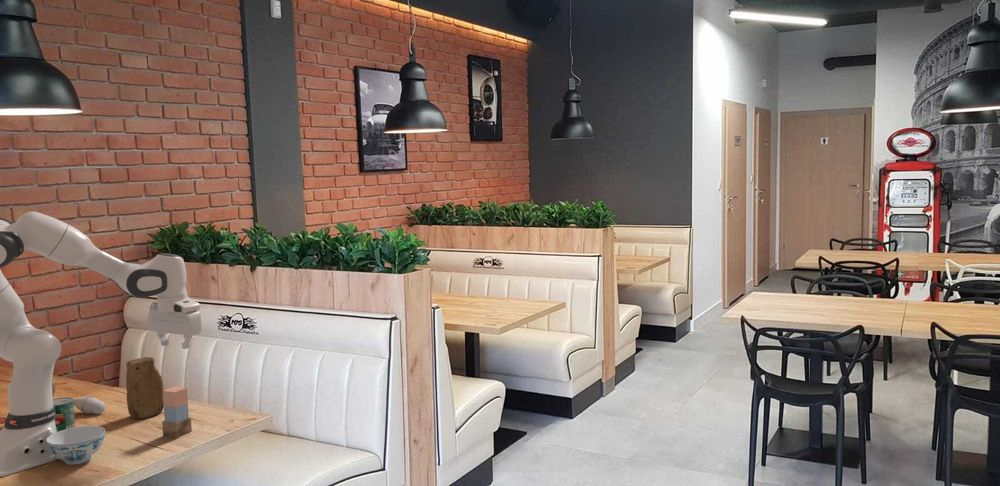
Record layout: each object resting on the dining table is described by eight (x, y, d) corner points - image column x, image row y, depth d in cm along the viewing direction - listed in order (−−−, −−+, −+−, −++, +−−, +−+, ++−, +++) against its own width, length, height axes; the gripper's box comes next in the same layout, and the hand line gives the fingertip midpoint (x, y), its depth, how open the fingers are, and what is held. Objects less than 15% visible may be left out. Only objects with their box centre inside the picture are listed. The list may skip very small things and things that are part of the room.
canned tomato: (43, 439, 234) (41, 406, 233) (51, 431, 242) (49, 398, 241) (71, 437, 236) (69, 403, 235) (78, 428, 244) (76, 396, 243)
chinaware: (116, 449, 225) (114, 425, 224) (90, 470, 210) (88, 443, 210) (66, 450, 225) (64, 426, 224) (37, 471, 210) (34, 445, 209)
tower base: (176, 439, 234) (176, 424, 233) (163, 436, 236) (162, 421, 236) (191, 432, 239) (190, 417, 239) (178, 430, 242) (177, 415, 241)
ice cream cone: (67, 410, 262) (103, 420, 259) (57, 404, 257) (93, 414, 254) (76, 394, 265) (112, 403, 262) (67, 388, 260) (103, 397, 257)
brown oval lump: (134, 421, 250) (130, 363, 248) (126, 416, 255) (122, 359, 253) (167, 413, 258) (163, 357, 255) (158, 408, 263) (155, 353, 261)
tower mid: (176, 423, 234) (175, 407, 233) (164, 421, 236) (163, 406, 235) (188, 418, 238) (187, 403, 238) (177, 416, 240) (176, 401, 240)
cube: (175, 407, 233) (174, 392, 233) (163, 405, 235) (162, 390, 235) (187, 402, 238) (186, 387, 237) (176, 401, 240) (175, 386, 239)
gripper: (141, 303, 236) (144, 345, 237) (187, 308, 227) (190, 352, 229) (158, 300, 242) (160, 341, 243) (203, 304, 233) (206, 347, 234)
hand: (175, 346), depth 236 cm, fingers open, 8 cm apart
